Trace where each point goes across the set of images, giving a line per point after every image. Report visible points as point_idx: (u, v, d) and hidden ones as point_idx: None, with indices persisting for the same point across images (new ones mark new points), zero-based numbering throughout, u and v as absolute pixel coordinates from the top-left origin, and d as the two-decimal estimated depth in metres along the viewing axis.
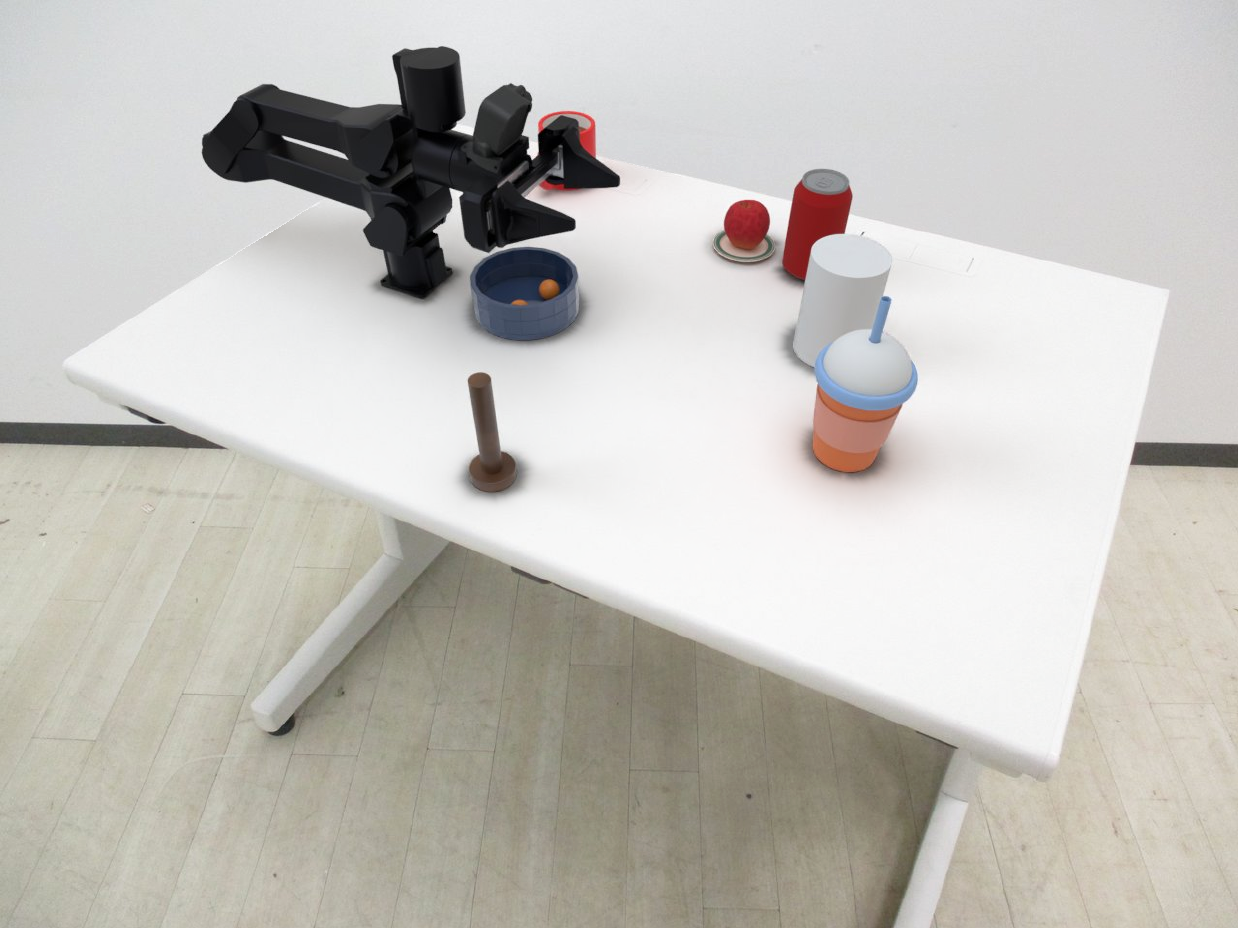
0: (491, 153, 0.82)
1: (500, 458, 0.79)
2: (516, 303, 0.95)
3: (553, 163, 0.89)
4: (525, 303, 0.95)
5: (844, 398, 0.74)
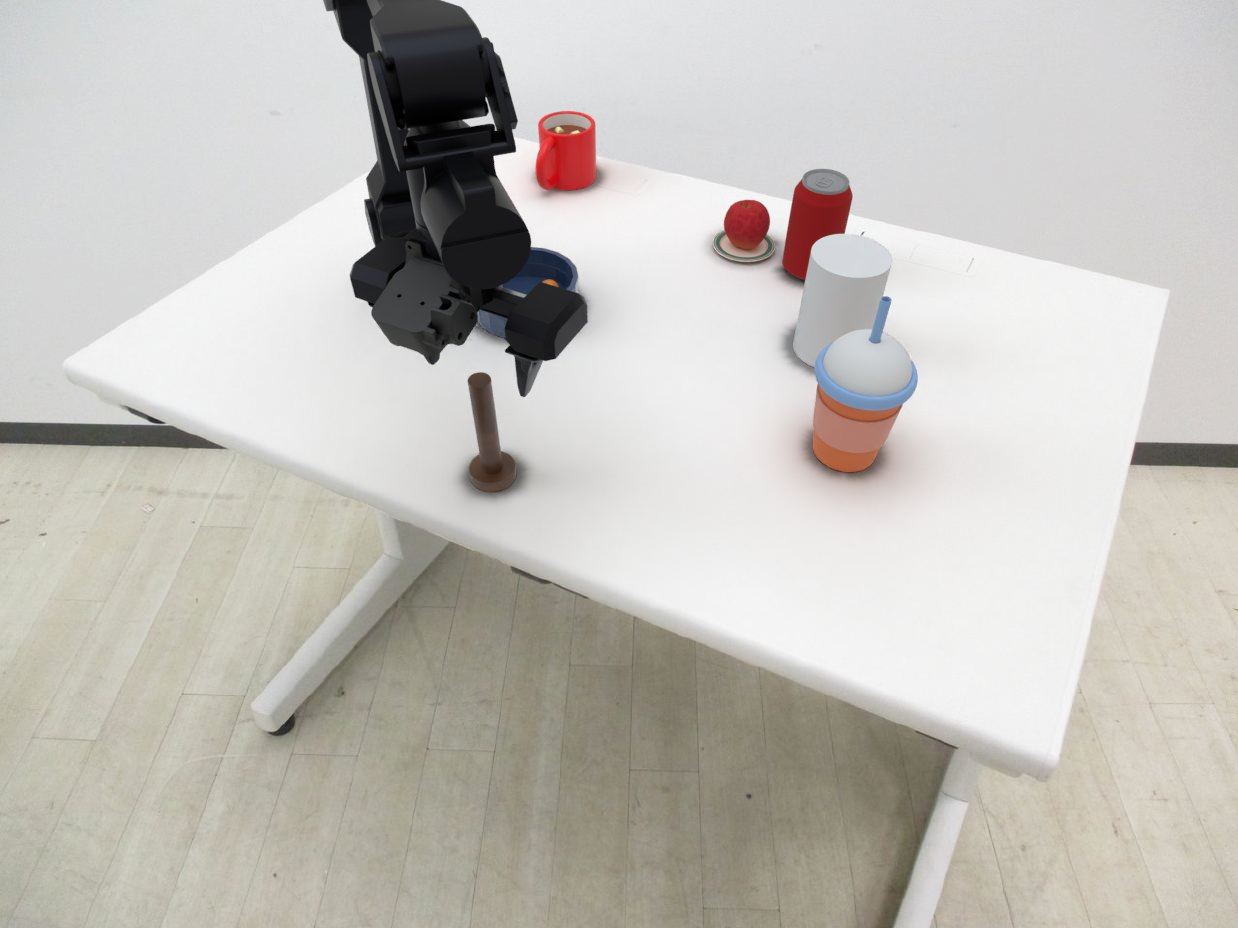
0: None
1: (500, 458, 0.79)
2: None
3: None
4: None
5: (844, 398, 0.74)
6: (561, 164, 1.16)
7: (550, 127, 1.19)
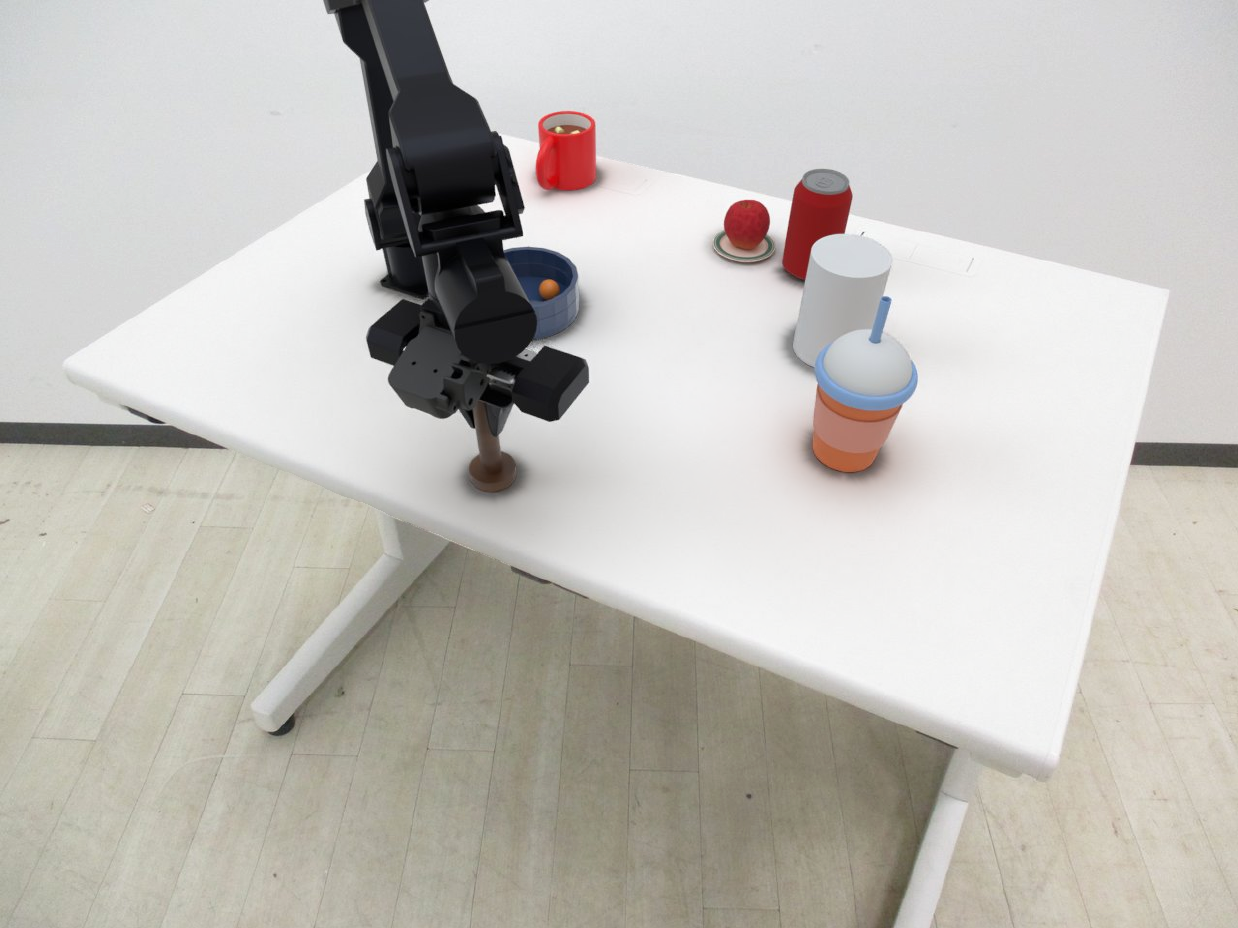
0: None
1: (500, 458, 0.79)
2: None
3: None
4: None
5: (844, 398, 0.74)
6: (561, 164, 1.16)
7: (550, 127, 1.19)
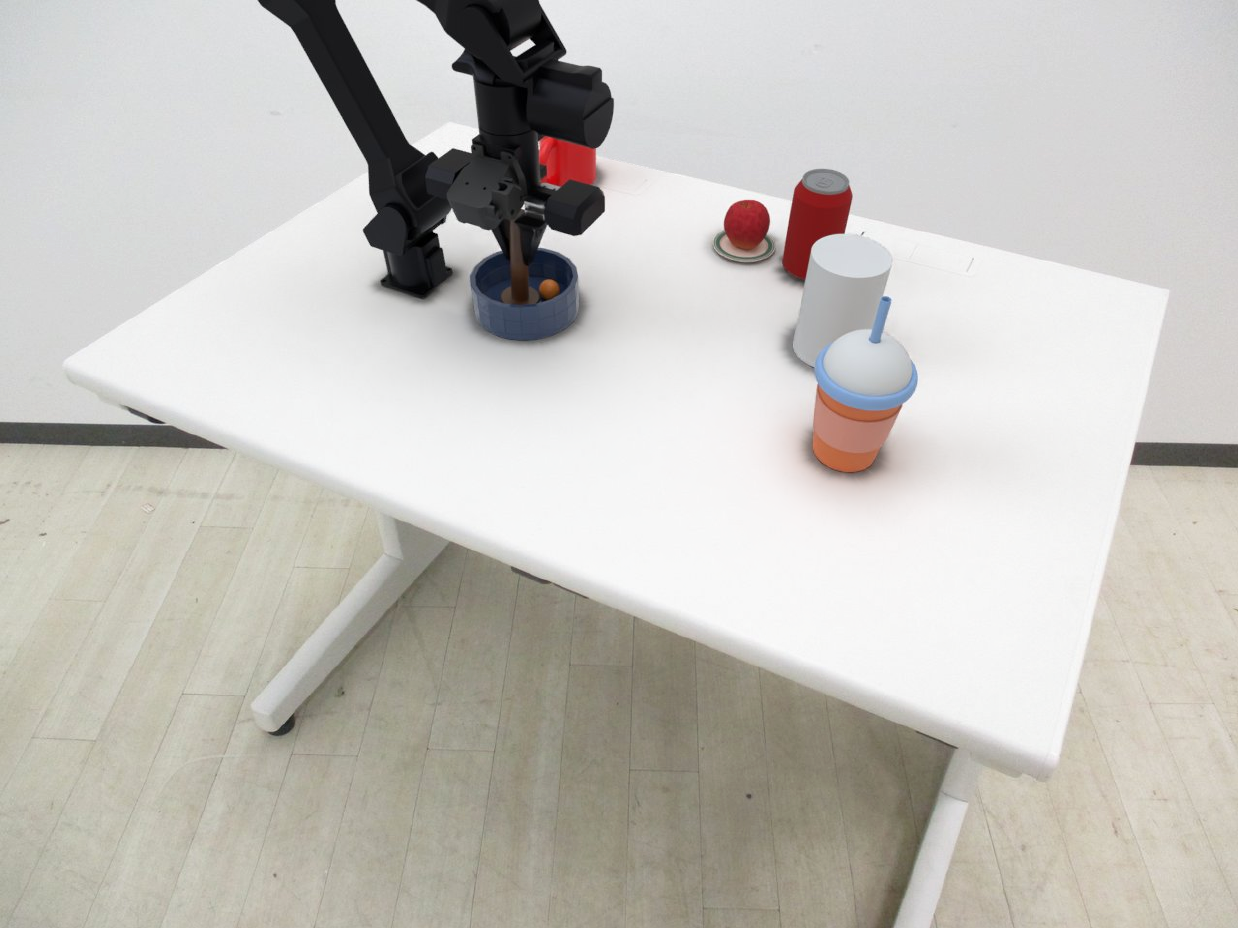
0: None
1: (527, 288, 0.96)
2: None
3: None
4: None
5: (844, 398, 0.74)
6: (561, 164, 1.16)
7: None
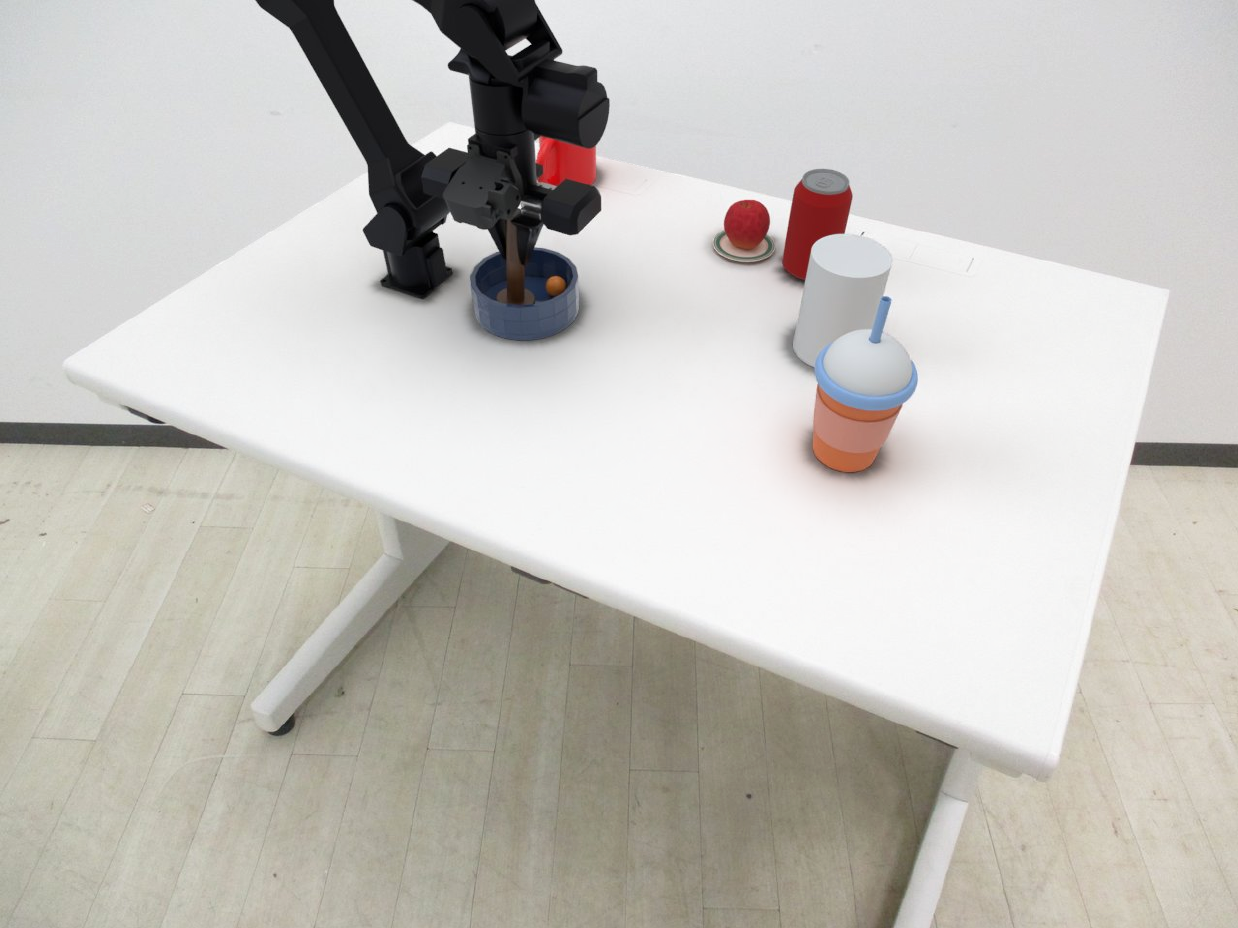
0: None
1: (523, 290, 0.96)
2: None
3: None
4: None
5: (844, 398, 0.74)
6: (561, 164, 1.16)
7: None
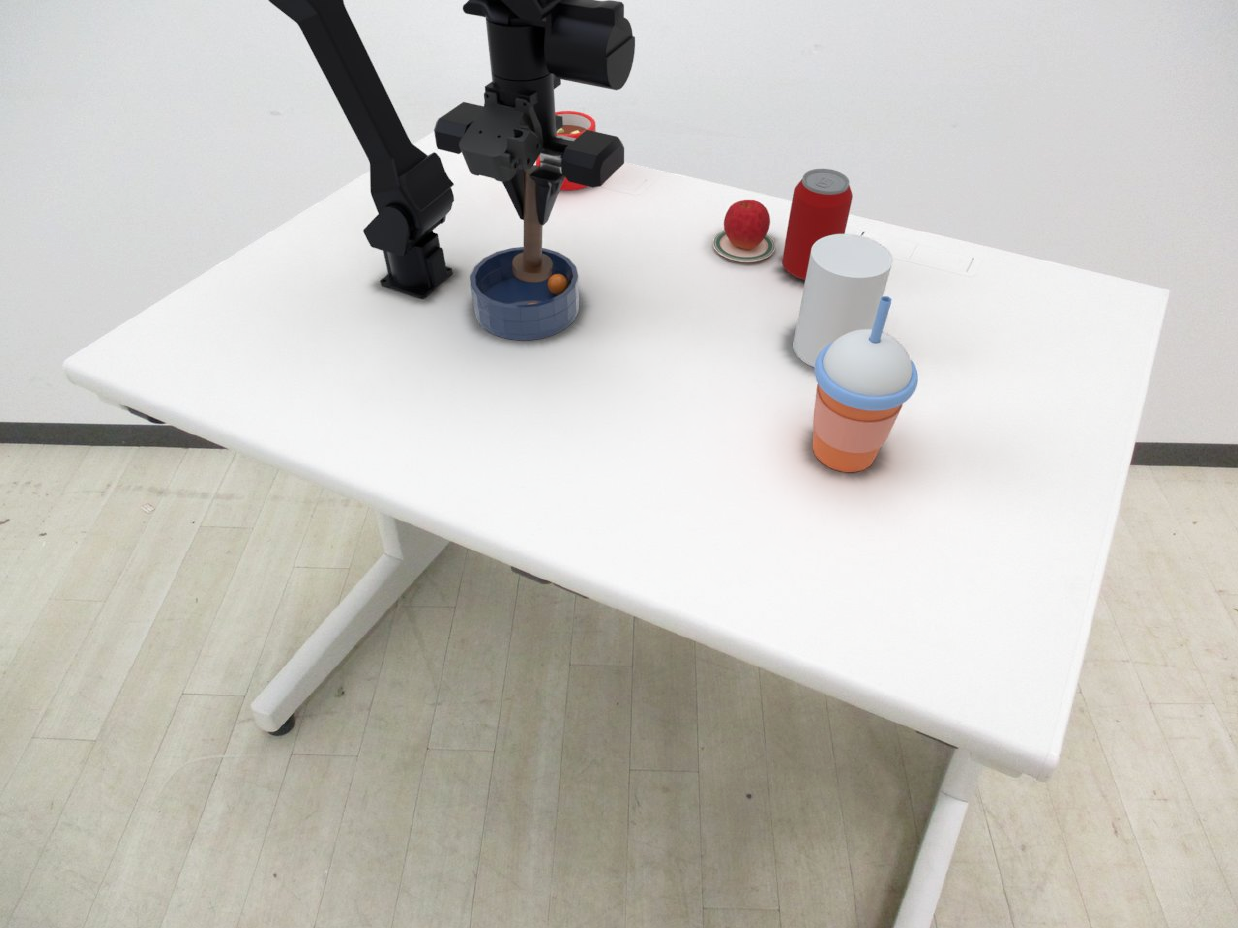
0: None
1: (540, 254, 0.92)
2: None
3: None
4: None
5: (844, 398, 0.74)
6: None
7: None
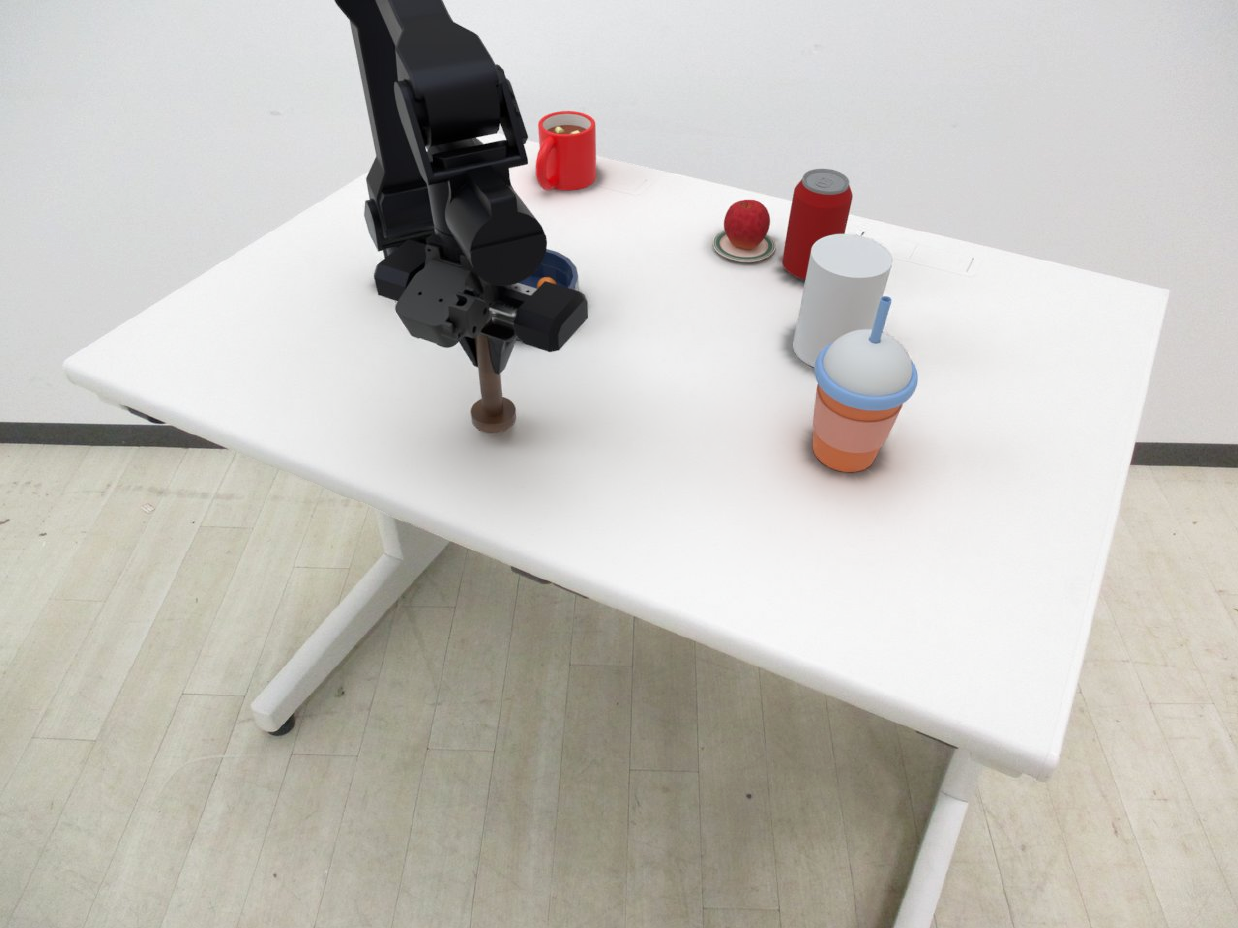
0: None
1: (500, 402, 0.82)
2: None
3: None
4: None
5: (844, 398, 0.74)
6: (561, 164, 1.16)
7: (550, 127, 1.19)
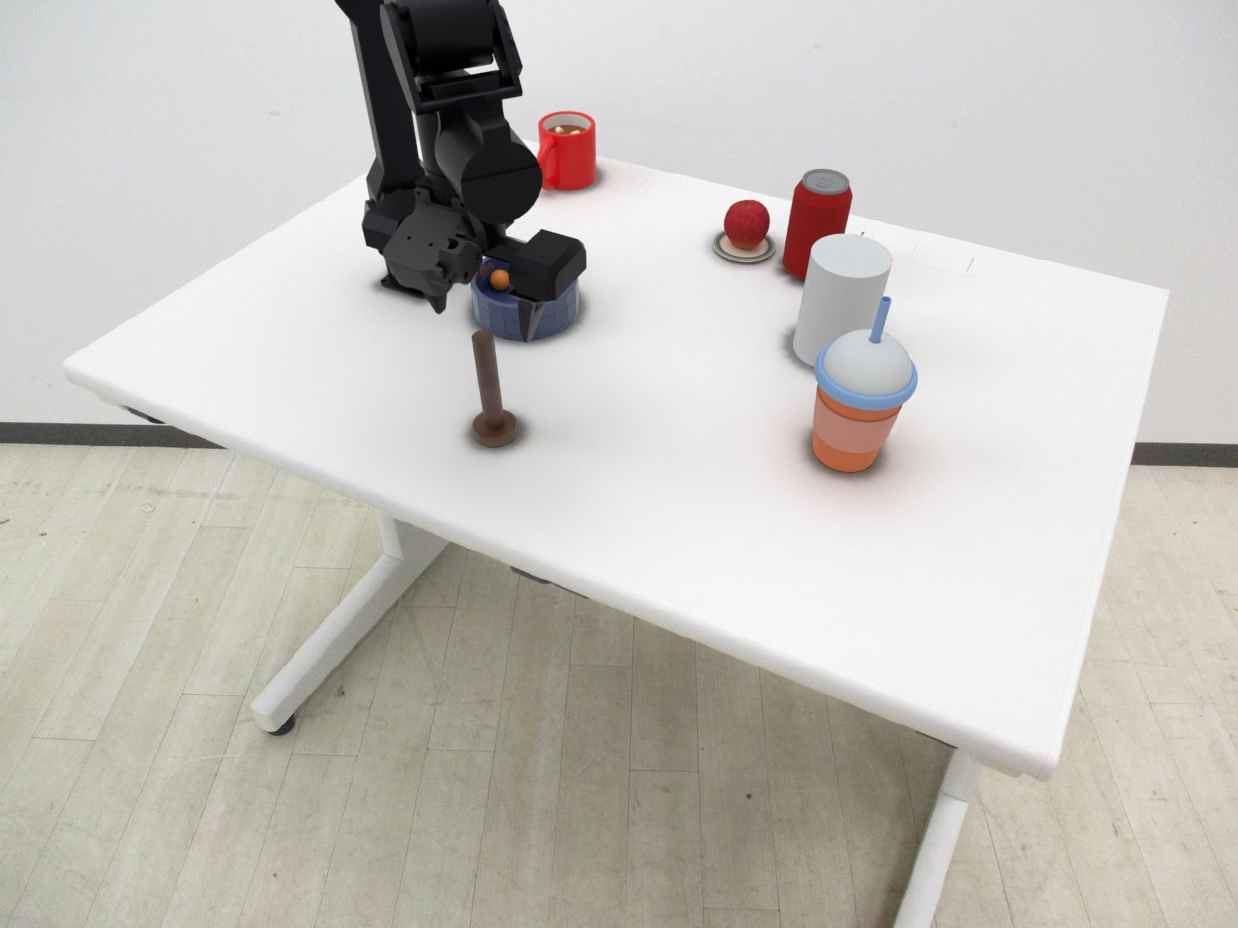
0: None
1: (501, 416, 0.83)
2: (494, 282, 0.99)
3: None
4: (503, 285, 0.99)
5: (844, 398, 0.74)
6: (561, 164, 1.16)
7: (550, 127, 1.19)
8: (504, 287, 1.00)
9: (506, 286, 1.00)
